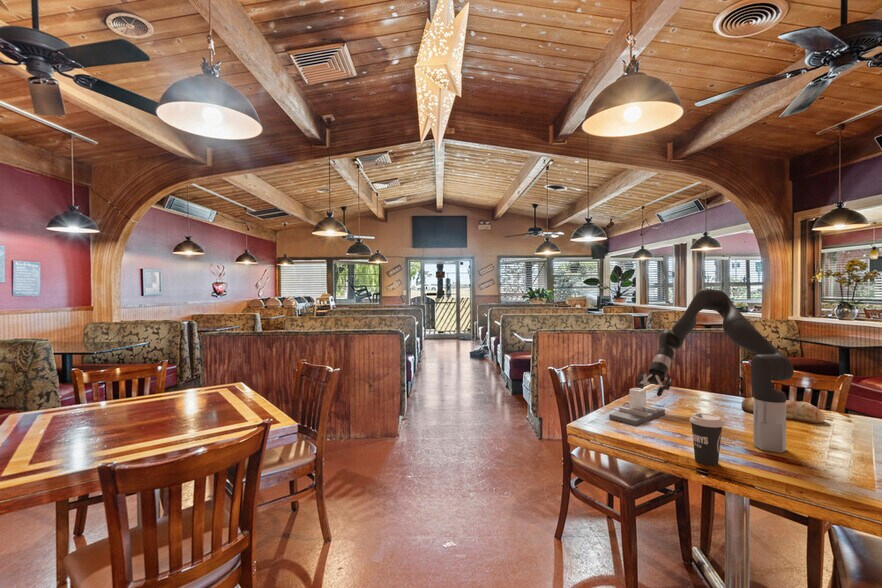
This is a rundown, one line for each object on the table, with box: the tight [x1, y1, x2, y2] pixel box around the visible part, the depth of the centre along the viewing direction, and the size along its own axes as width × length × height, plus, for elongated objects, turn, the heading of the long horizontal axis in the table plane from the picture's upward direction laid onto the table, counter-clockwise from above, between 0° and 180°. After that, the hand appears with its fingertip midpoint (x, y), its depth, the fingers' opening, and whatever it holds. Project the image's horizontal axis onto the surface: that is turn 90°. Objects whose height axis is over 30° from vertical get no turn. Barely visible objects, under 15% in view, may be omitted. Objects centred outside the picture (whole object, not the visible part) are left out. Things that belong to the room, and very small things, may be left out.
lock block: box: [629, 387, 647, 412], centre depth 189 cm, size 5×5×10 cm
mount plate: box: [608, 403, 666, 426], centre depth 189 cm, size 12×26×4 cm, turn 128°
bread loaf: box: [741, 396, 834, 424], centre depth 188 cm, size 35×18×9 cm, turn 53°
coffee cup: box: [689, 412, 725, 467], centre depth 139 cm, size 10×10×15 cm
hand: (648, 393), depth 195 cm, fingers open, 8 cm apart
